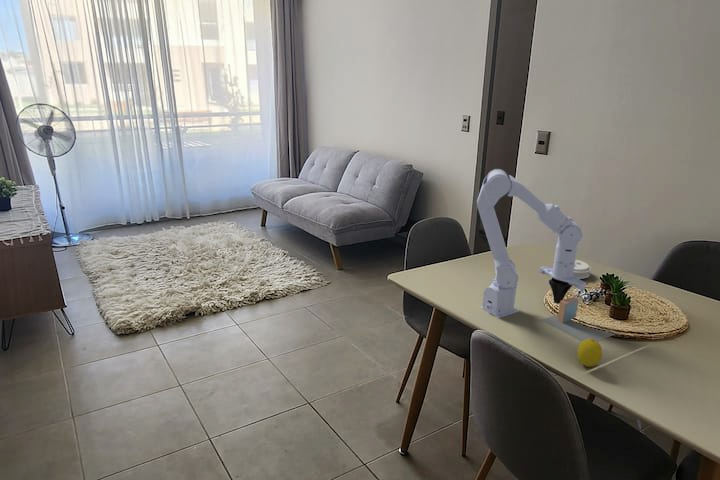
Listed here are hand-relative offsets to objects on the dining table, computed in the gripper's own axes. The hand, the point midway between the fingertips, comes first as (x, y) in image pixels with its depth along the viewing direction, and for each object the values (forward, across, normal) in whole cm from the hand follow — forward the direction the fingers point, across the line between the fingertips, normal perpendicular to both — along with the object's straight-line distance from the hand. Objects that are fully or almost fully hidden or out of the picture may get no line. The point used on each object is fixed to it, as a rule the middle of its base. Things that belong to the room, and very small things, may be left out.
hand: (557, 302), depth 141 cm
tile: (+4, -4, 0) cm, 6 cm away
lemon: (+5, -22, +16) cm, 28 cm away
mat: (+4, -8, +1) cm, 9 cm away
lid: (+5, +20, -33) cm, 39 cm away
